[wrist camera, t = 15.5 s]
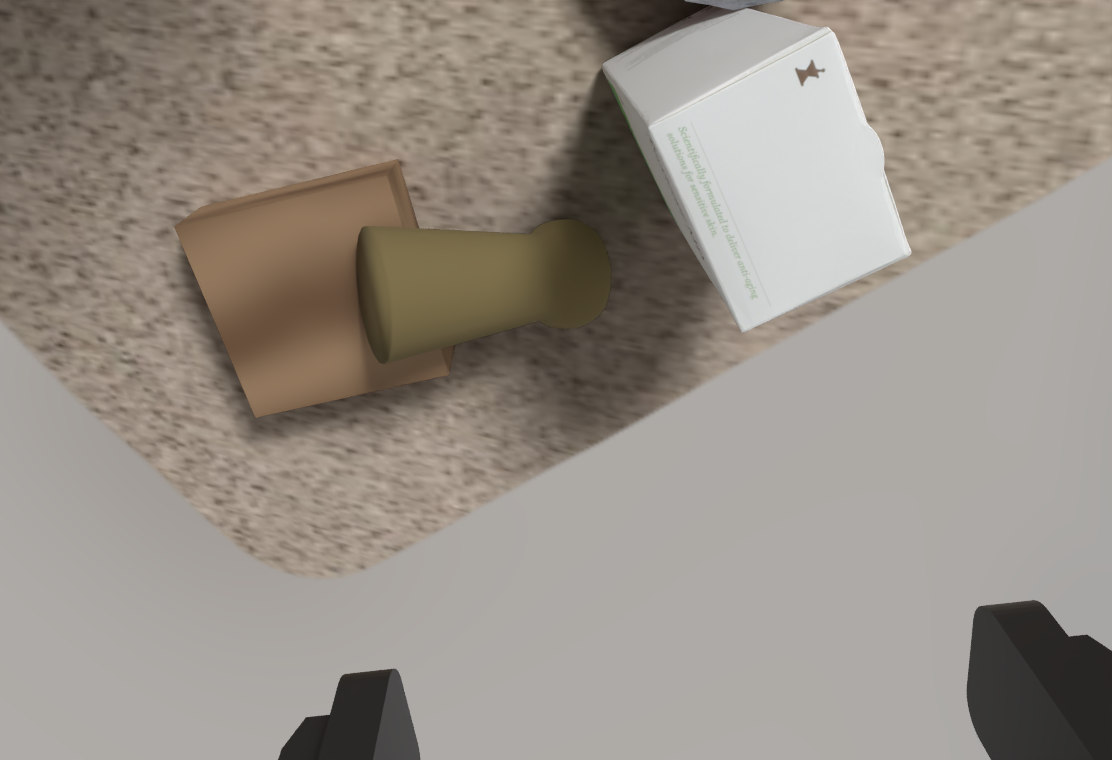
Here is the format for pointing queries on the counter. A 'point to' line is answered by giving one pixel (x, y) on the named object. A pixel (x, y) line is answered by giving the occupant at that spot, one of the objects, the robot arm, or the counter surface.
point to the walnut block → (301, 287)
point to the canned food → (733, 3)
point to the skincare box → (761, 156)
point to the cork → (475, 283)
